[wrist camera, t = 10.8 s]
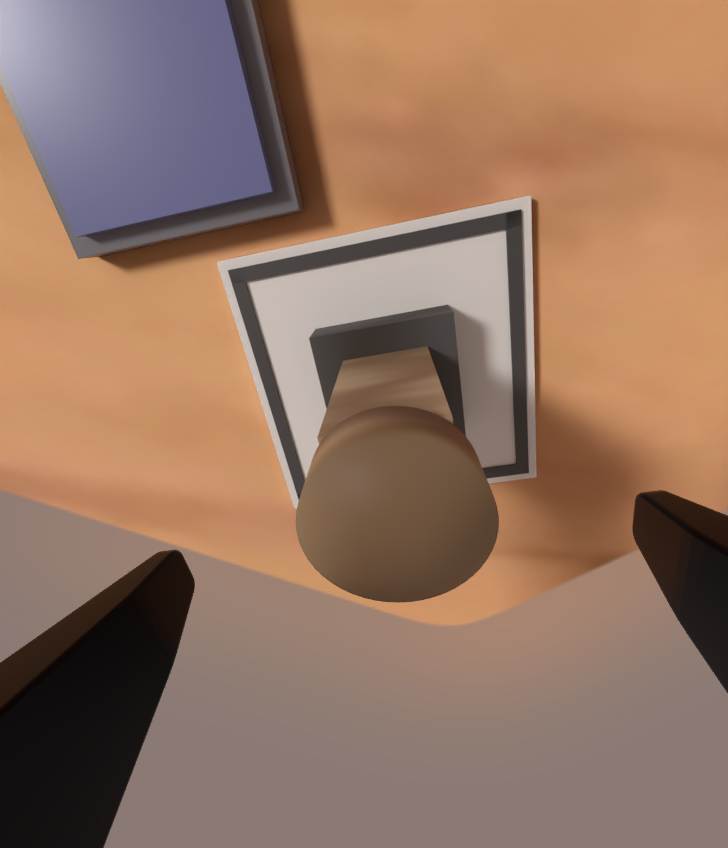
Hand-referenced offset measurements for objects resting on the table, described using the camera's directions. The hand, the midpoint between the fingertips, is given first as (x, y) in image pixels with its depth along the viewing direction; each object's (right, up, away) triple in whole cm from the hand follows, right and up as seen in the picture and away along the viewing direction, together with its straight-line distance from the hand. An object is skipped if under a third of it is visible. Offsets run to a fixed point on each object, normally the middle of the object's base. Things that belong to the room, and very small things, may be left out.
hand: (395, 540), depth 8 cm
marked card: (+1, +4, +9) cm, 10 cm away
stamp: (0, +4, +8) cm, 9 cm away
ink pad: (-8, +14, +4) cm, 17 cm away
